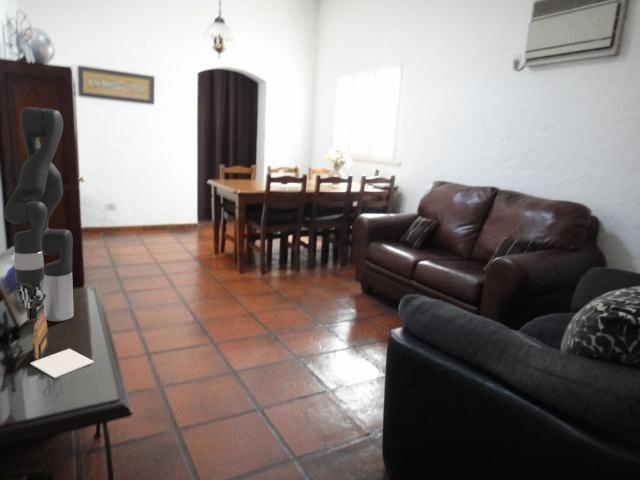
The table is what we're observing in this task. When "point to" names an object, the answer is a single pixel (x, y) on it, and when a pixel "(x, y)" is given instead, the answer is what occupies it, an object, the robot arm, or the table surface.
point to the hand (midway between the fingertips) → (32, 318)
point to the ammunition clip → (40, 337)
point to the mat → (62, 363)
